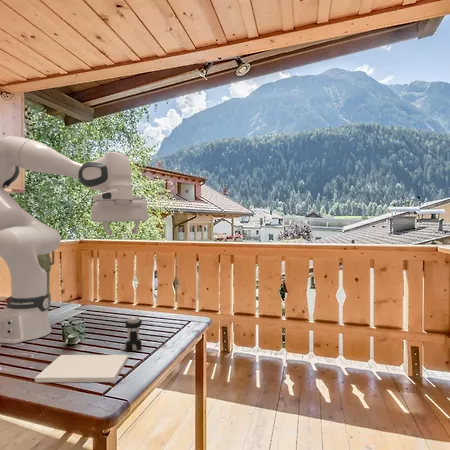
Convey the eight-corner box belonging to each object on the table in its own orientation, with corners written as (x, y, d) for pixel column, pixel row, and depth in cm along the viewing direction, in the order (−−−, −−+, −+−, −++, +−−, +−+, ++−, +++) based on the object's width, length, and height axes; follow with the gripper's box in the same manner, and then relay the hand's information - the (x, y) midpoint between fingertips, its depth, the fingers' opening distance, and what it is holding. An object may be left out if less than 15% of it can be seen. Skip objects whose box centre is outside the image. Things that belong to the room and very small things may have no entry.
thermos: (24, 307, 152) (24, 232, 152) (52, 304, 159) (52, 232, 158) (25, 312, 145) (25, 233, 144) (55, 308, 152) (55, 233, 151)
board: (34, 382, 83) (34, 377, 83) (60, 358, 97) (60, 355, 97) (113, 382, 84) (113, 377, 84) (128, 358, 98) (128, 354, 98)
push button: (122, 354, 101) (122, 322, 100) (118, 348, 105) (118, 318, 105) (143, 350, 104) (143, 319, 104) (139, 345, 109) (139, 315, 108)
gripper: (142, 197, 127) (145, 233, 127) (88, 196, 114) (90, 236, 114) (150, 195, 122) (152, 232, 122) (94, 194, 109) (96, 235, 109)
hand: (122, 234), depth 118 cm, fingers open, 8 cm apart
